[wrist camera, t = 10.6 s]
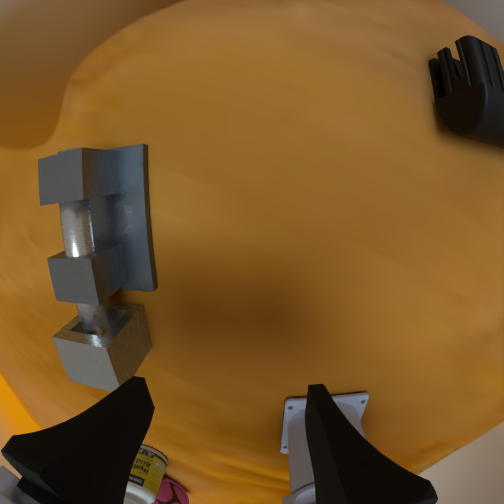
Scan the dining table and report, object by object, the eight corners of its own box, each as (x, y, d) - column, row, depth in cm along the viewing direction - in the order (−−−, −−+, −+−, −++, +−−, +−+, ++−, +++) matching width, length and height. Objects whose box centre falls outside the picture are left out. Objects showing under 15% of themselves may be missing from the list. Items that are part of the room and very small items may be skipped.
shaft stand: (168, 349, 22) (147, 389, 17) (92, 339, 22) (64, 369, 17) (147, 145, 17) (109, 136, 12) (64, 160, 18) (21, 161, 13)
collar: (152, 345, 22) (122, 394, 15) (105, 339, 22) (70, 380, 16) (143, 304, 21) (105, 347, 14) (94, 300, 21) (52, 336, 15)
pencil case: (160, 463, 28) (142, 517, 18) (196, 491, 30) (185, 539, 20) (74, 454, 31) (54, 490, 21) (107, 482, 33) (92, 516, 23)
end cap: (434, 138, 16) (492, 131, 10) (422, 57, 14) (468, 28, 8) (507, 157, 15) (557, 160, 9) (498, 87, 14) (543, 77, 7)
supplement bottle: (159, 445, 26) (137, 506, 17) (173, 466, 27) (157, 521, 18) (123, 440, 27) (98, 494, 17) (140, 461, 28) (120, 511, 18)
